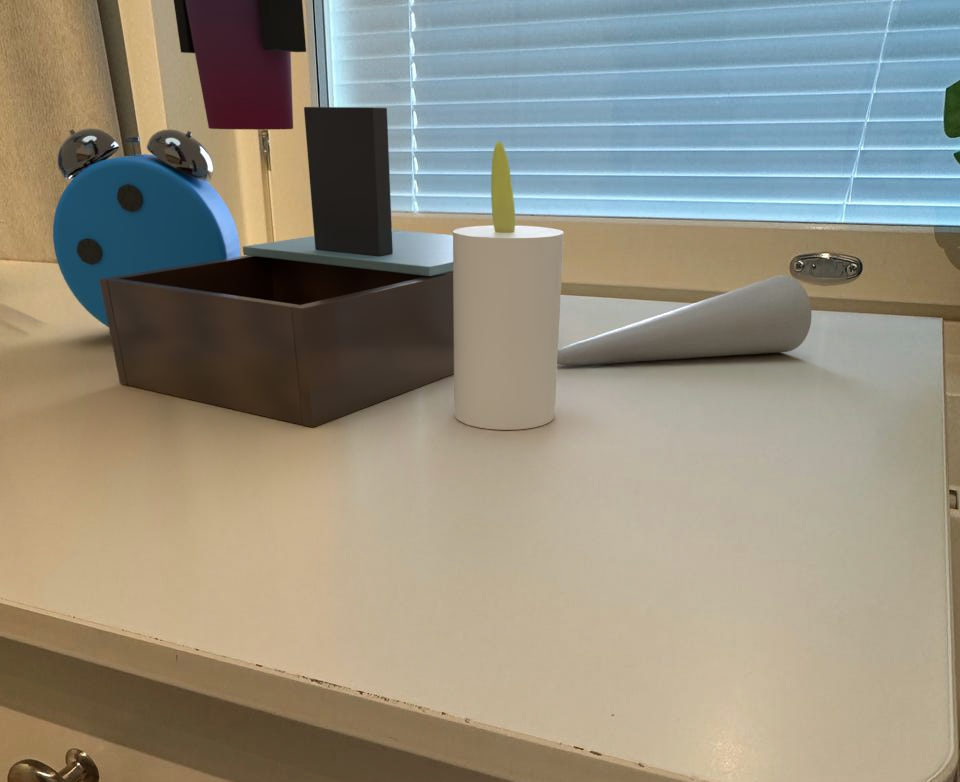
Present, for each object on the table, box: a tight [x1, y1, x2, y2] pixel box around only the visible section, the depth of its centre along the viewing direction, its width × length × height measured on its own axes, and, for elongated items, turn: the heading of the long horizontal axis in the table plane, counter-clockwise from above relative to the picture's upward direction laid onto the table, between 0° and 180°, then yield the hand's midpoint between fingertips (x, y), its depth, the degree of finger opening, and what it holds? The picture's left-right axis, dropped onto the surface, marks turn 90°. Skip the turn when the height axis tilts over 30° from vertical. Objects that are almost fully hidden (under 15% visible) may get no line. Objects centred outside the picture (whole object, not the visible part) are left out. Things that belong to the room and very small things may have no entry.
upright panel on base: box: [242, 106, 453, 276], centre depth 66 cm, size 17×15×10 cm
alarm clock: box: [52, 127, 242, 328], centre depth 70 cm, size 13×6×15 cm, turn 92°
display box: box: [99, 255, 454, 428], centre depth 66 cm, size 18×29×7 cm, turn 148°
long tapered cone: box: [557, 274, 812, 366], centre depth 66 cm, size 6×6×19 cm
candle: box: [452, 140, 565, 431], centre depth 52 cm, size 6×6×15 cm
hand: (242, 51), depth 52 cm, fingers closed on cup, 6 cm apart
